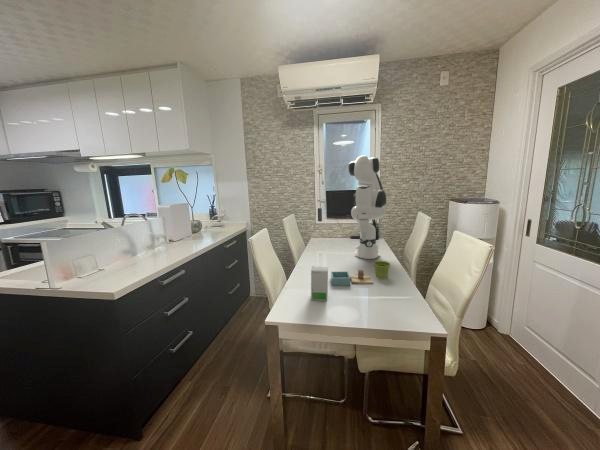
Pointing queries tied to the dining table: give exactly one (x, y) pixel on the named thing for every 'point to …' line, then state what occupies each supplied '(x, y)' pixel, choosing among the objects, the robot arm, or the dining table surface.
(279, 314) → the dining table surface
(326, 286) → the skincare box
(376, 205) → the robot arm
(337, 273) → the teal open box
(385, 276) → the plant pot
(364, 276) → the lid
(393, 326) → the dining table surface
